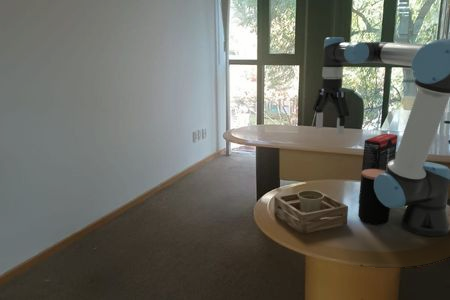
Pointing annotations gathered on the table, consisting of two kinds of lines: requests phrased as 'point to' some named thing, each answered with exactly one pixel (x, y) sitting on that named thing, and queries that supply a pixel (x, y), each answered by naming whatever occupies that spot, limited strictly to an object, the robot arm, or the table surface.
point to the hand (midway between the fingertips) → (329, 131)
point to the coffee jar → (371, 200)
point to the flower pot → (310, 200)
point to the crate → (310, 213)
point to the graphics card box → (379, 152)
